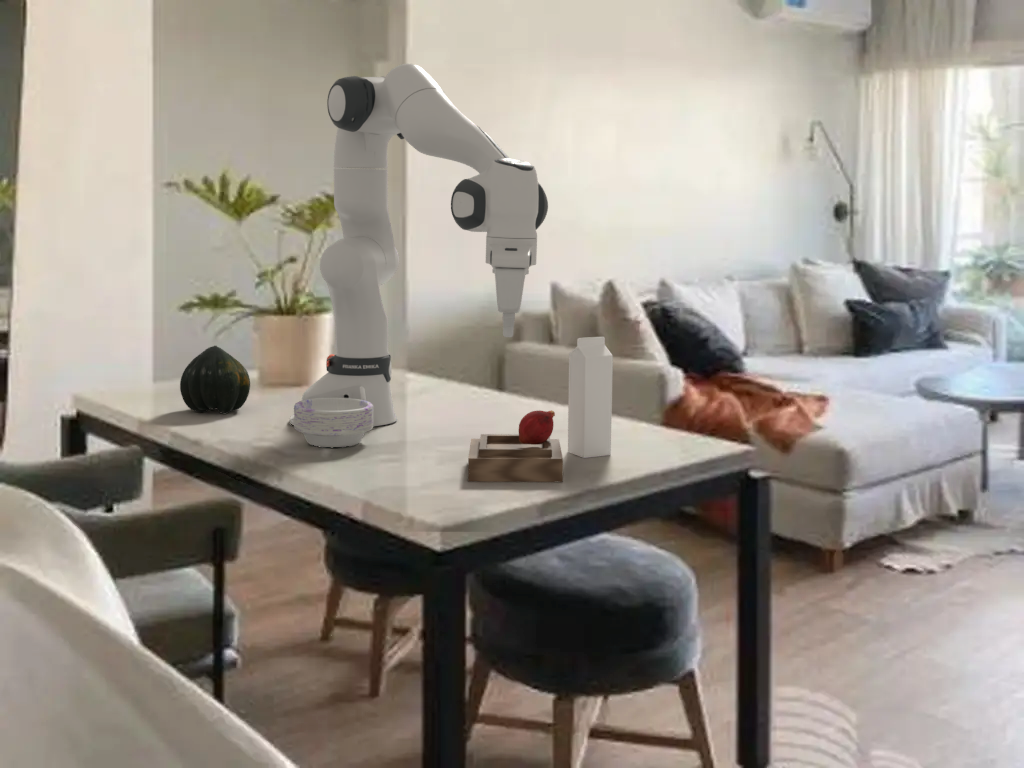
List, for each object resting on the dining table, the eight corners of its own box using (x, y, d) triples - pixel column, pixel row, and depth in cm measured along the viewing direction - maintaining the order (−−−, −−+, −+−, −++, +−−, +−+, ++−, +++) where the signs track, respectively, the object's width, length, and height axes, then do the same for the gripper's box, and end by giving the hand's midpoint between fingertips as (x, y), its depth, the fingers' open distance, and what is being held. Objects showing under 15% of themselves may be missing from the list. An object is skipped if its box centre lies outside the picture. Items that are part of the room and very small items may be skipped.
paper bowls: (387, 446, 229) (386, 405, 227) (313, 455, 221) (312, 413, 219) (353, 432, 241) (352, 393, 240) (282, 440, 233) (281, 400, 232)
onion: (530, 452, 206) (564, 421, 206) (508, 428, 207) (541, 397, 207) (532, 455, 211) (565, 424, 212) (510, 431, 212) (543, 401, 213)
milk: (567, 452, 225) (568, 336, 221) (594, 449, 227) (596, 334, 224) (584, 458, 219) (585, 339, 216) (611, 455, 222) (613, 338, 219)
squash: (209, 396, 250) (238, 338, 258) (157, 392, 257) (186, 336, 265) (246, 431, 261) (272, 374, 268) (194, 427, 268) (221, 372, 275)
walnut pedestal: (468, 481, 202) (468, 451, 201) (471, 460, 217) (471, 432, 216) (562, 481, 202) (563, 452, 201) (558, 460, 217) (558, 432, 217)
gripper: (494, 249, 216) (492, 325, 219) (491, 257, 196) (488, 340, 199) (529, 251, 216) (526, 326, 219) (529, 258, 196) (526, 341, 198)
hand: (508, 333), depth 208 cm, fingers open, 8 cm apart
